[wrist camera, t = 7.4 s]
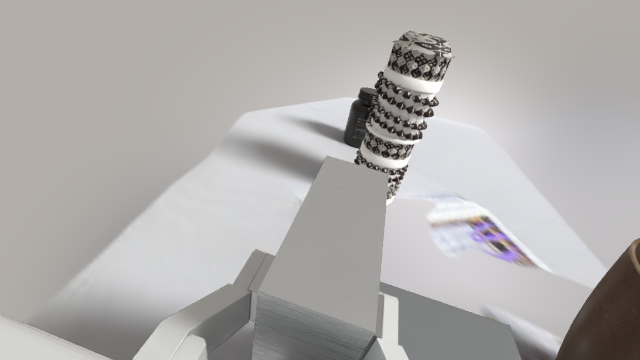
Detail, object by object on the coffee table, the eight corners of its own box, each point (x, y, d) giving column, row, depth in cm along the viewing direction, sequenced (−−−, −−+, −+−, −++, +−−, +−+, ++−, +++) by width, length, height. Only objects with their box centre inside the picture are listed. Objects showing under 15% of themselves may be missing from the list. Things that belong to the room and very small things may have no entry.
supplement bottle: (376, 144, 65) (393, 94, 58) (360, 152, 60) (377, 99, 53) (353, 132, 68) (367, 84, 61) (336, 138, 63) (349, 87, 56)
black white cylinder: (339, 174, 51) (381, 23, 37) (383, 176, 53) (439, 35, 39) (353, 207, 44) (412, 35, 30) (404, 207, 46) (480, 49, 32)
